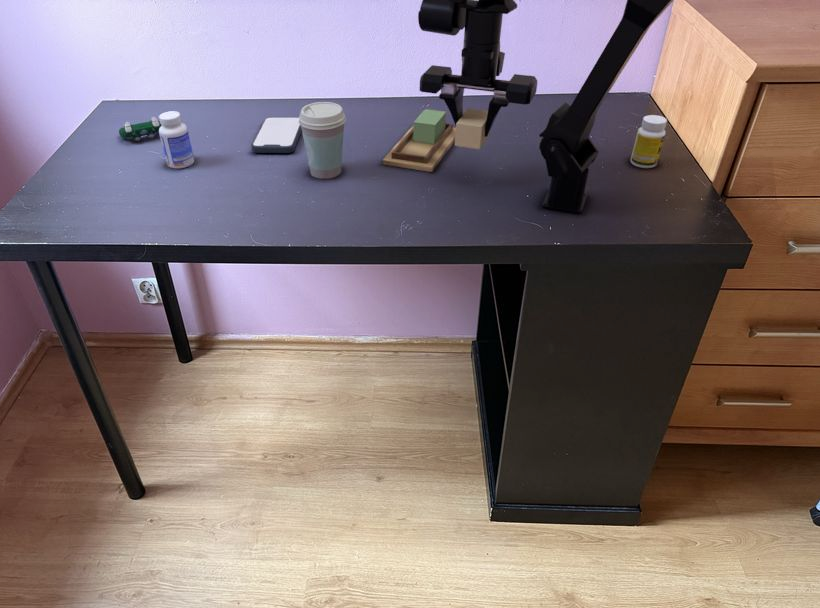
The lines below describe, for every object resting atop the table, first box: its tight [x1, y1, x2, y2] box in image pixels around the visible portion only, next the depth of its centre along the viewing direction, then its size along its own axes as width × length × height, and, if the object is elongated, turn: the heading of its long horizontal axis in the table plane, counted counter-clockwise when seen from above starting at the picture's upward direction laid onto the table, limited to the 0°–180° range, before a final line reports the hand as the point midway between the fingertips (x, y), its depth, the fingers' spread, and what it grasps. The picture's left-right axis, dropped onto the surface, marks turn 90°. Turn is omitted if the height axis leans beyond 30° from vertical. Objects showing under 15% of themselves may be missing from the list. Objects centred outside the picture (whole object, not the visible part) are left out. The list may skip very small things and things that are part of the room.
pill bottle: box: [158, 110, 195, 170], centre depth 127 cm, size 5×5×10 cm
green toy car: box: [118, 116, 162, 142], centre depth 139 cm, size 9×4×6 cm
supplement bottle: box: [629, 114, 668, 169], centre depth 121 cm, size 5×5×8 cm
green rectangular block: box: [413, 108, 447, 144], centre depth 132 cm, size 7×4×4 cm, turn 157°
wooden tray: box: [382, 122, 456, 173], centre depth 131 cm, size 19×10×2 cm, turn 157°
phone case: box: [251, 116, 302, 154], centre depth 137 cm, size 9×2×16 cm
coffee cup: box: [298, 101, 347, 180], centre depth 121 cm, size 8×8×12 cm
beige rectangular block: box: [454, 108, 492, 150], centre depth 115 cm, size 7×4×4 cm, turn 157°
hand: (473, 133), depth 115 cm, fingers closed on beige rectangular block, 4 cm apart
